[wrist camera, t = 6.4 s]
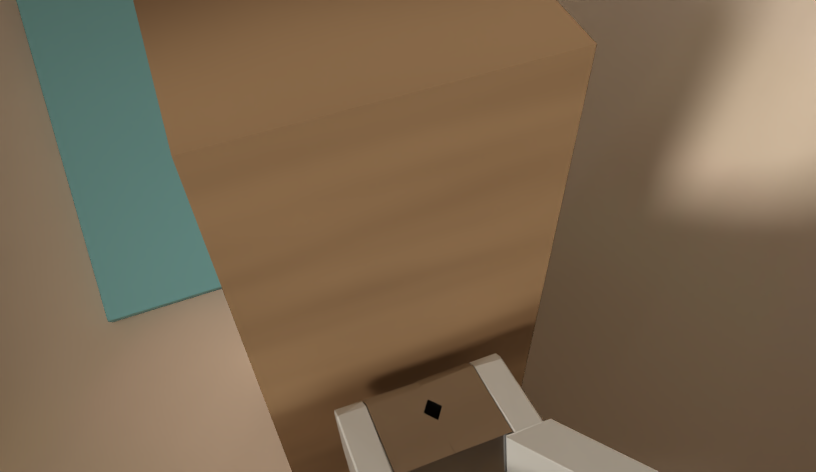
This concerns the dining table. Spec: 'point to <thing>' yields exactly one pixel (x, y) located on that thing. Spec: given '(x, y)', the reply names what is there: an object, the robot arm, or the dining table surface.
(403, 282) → the walnut block
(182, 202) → the teal mat
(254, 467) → the dining table surface
